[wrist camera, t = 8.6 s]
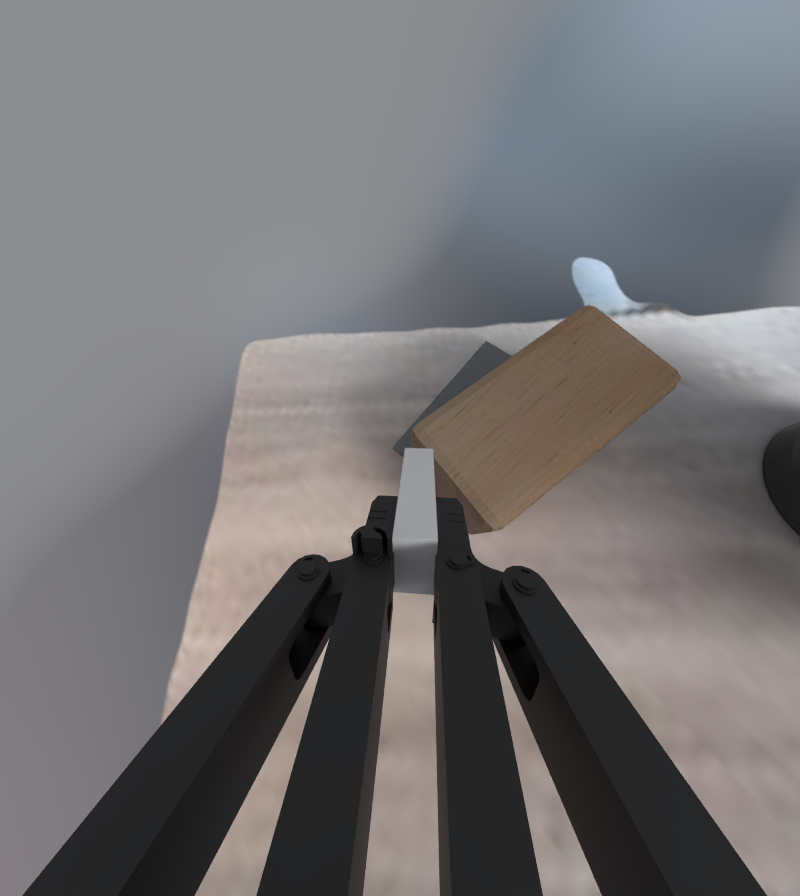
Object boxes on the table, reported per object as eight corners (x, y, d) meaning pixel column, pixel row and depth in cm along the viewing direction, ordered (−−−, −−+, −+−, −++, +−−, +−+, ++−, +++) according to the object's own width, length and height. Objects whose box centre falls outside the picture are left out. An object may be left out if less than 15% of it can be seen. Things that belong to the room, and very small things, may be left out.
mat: (485, 343, 36) (486, 341, 35) (571, 395, 33) (573, 394, 32) (393, 448, 32) (392, 447, 32) (481, 518, 29) (482, 517, 29)
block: (404, 426, 22) (591, 296, 24) (409, 461, 31) (542, 364, 34) (494, 537, 19) (694, 375, 22) (468, 538, 28) (609, 425, 31)
